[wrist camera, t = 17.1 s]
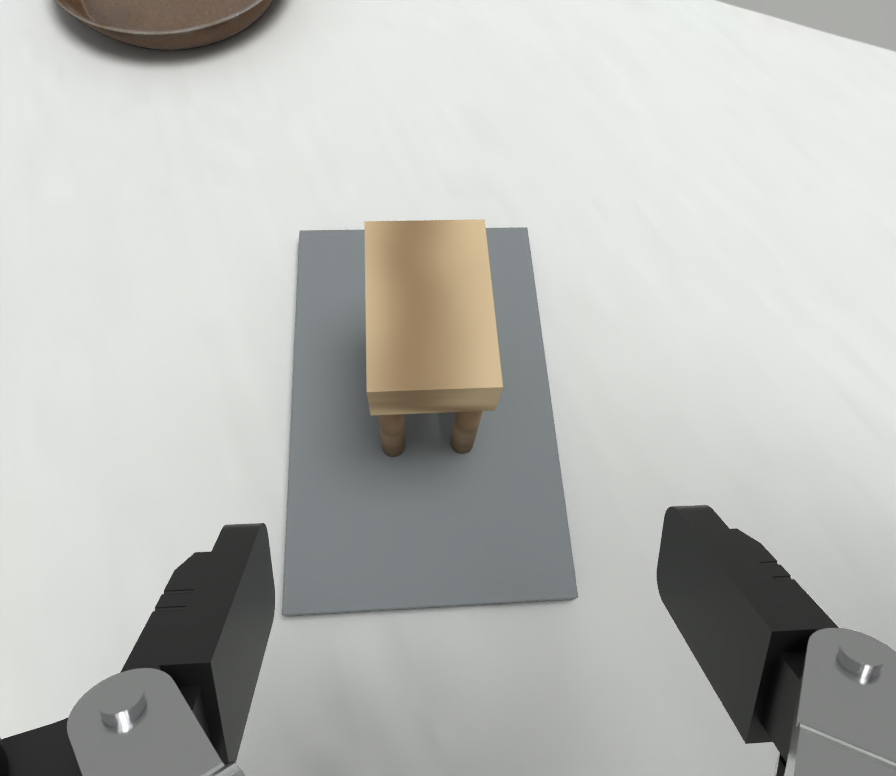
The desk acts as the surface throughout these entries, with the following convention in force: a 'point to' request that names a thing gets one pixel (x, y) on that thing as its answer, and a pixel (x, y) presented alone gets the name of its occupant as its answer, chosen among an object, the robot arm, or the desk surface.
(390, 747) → the desk surface
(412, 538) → the grey mat
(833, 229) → the desk surface
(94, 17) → the plant saucer
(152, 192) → the desk surface
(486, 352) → the oak stool
